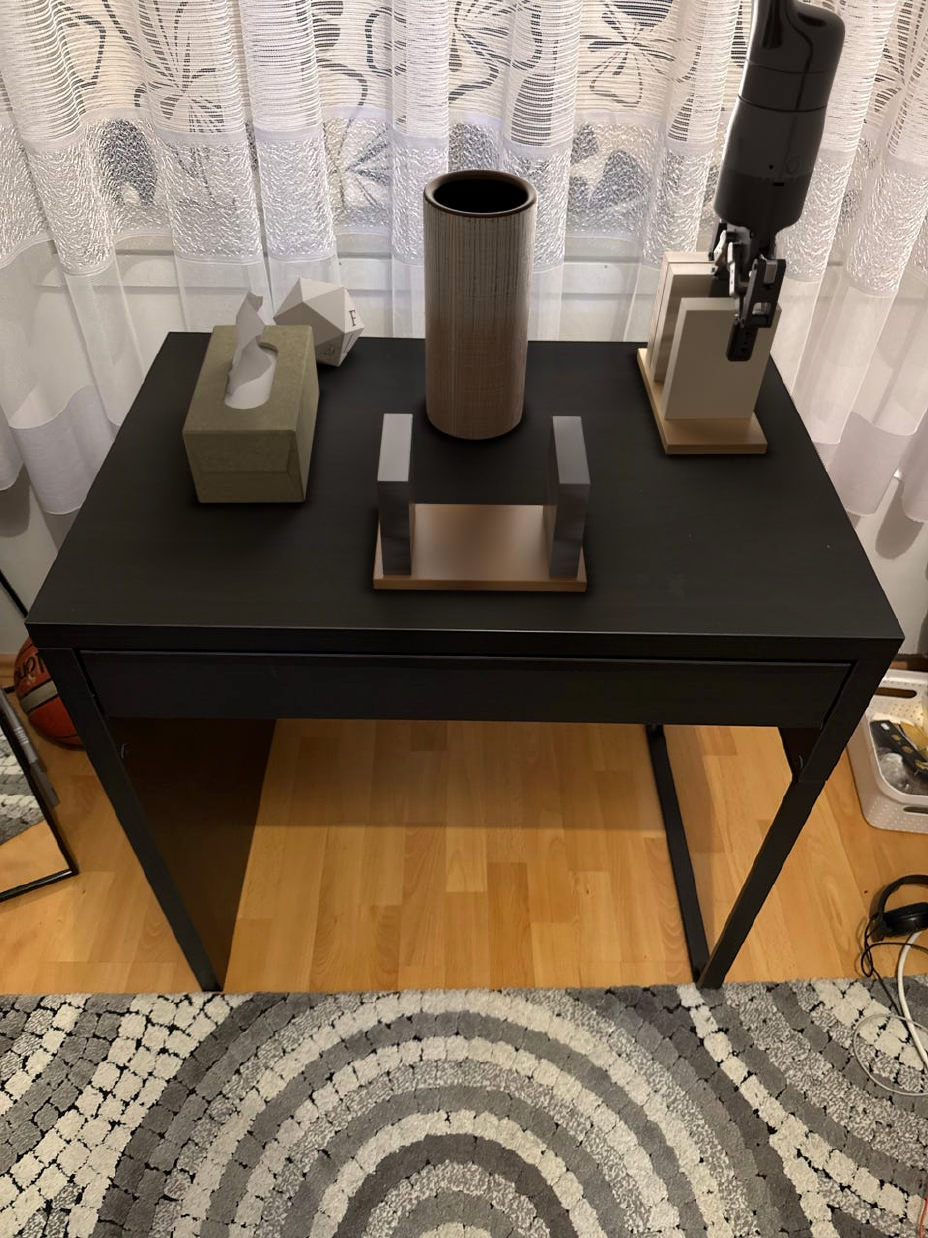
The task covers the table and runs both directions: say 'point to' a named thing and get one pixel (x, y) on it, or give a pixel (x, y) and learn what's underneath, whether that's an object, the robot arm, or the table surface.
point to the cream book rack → (679, 436)
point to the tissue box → (253, 411)
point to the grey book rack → (482, 524)
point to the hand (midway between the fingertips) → (726, 336)
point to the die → (323, 317)
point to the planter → (477, 299)
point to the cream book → (712, 364)
